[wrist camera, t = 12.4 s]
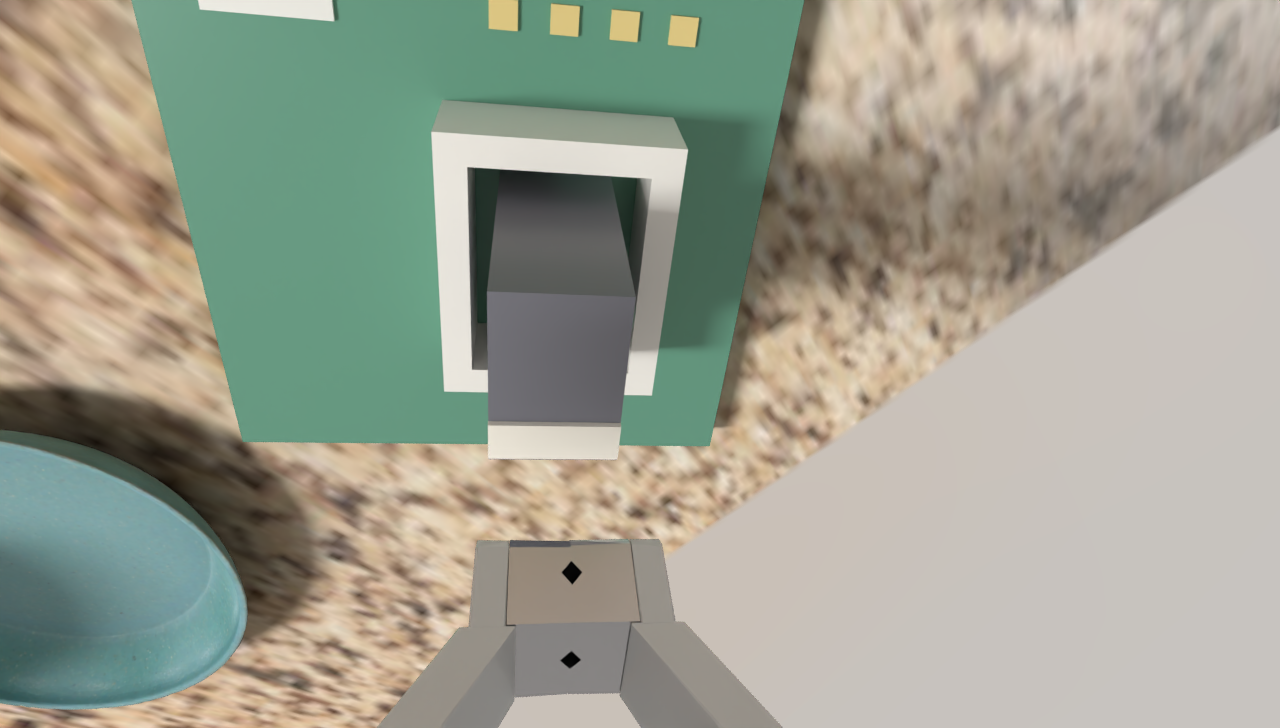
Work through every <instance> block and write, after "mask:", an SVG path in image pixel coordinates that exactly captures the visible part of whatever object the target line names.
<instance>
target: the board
mask: <svg viewBox="0 0 1280 728" xmlns="http://www.w3.org/2000/svg"><path fill="white" fill-rule="evenodd" d="M132 4H133V8H134V12H135V16H136V20H137V24H138V28H139V32H140V36H141V40H142V44H143V48H144V52H145V56H146V60H147V64H148V68H149V72H150V76H151V80H152V84H153V88H154V91H155V95H156V99H157V103H158V107H159V111H160V115H161V119H162V123H163V127H164V131H165V135H166V139H167V143H168V147H169V151H170V155H171V159H172V163H173V167H174V171H175V175H176V179H177V183H178V187H179V191H180V195H181V199H182V202H183V206H184V210H185V214H186V218H187V222H188V226H189V230H190V234H191V238H192V242H193V246H194V250H195V254H196V258H197V262H198V266H199V270H200V274H201V278H202V282H203V286H204V290H205V294H206V298H207V302H208V306H209V309H210V313H211V317H212V321H213V325H214V329H215V333H216V337H217V341H218V345H219V349H220V353H221V357H222V361H223V365H224V369H225V373H226V377H227V381H228V385H229V389H230V393H231V397H232V401H233V405H234V409H235V413H236V417H237V420H238V424H239V428H240V432H241V436H242V440H243V442H315V443H424V444H488V345H487V287H488V278H489V269H490V260H491V250H492V241H493V232H494V223H495V214H496V205H497V195H498V186H499V177H500V169H505V170H521V171H537V172H553V173H568V174H584V175H600V176H611V179H612V184H613V189H614V194H615V198H616V203H617V208H618V213H619V218H620V223H621V228H622V232H623V237H624V242H625V247H626V252H627V257H628V262H629V266H630V271H631V276H632V281H633V286H634V291H635V296H636V300H635V308H634V317H633V325H632V333H631V341H630V350H629V358H628V366H627V375H626V383H625V391H624V400H623V408H622V416H621V434H620V442H619V445H644V446H710V442H711V437H712V432H713V428H714V423H715V418H716V413H717V409H718V404H719V399H720V395H721V390H722V385H723V381H724V376H725V371H726V366H727V362H728V357H729V352H730V348H731V343H732V338H733V334H734V329H735V324H736V319H737V315H738V310H739V305H740V301H741V296H742V291H743V286H744V282H745V277H746V272H747V268H748V263H749V258H750V254H751V249H752V244H753V239H754V235H755V230H756V225H757V221H758V216H759V211H760V207H761V202H762V197H763V192H764V188H765V183H766V178H767V174H768V169H769V164H770V159H771V155H772V150H773V145H774V141H775V136H776V131H777V127H778V122H779V117H780V112H781V108H782V103H783V98H784V94H785V89H786V84H787V80H788V75H789V70H790V65H791V61H792V56H793V51H794V47H795V42H796V37H797V33H798V28H799V23H800V18H801V14H802V9H803V4H804V0H132Z"/></svg>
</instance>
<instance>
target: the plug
mask: <svg viewBox="0 0 1280 728" xmlns="http://www.w3.org/2000/svg"><path fill="white" fill-rule="evenodd" d="M635 300H636V296H635V291H634V286H633V281H632V276H631V271H630V266H629V262H628V257H627V252H626V247H625V242H624V237H623V232H622V228H621V223H620V218H619V213H618V208H617V203H616V198H615V194H614V189H613V184H612V179H611V176H600V175H584V174H568V173H553V172H537V171H521V170H505V169H500V177H499V186H498V195H497V205H496V214H495V223H494V232H493V241H492V250H491V260H490V269H489V278H488V287H487V345H488V459H533V460H617V458H618V450H619V442H620V434H621V416H622V408H623V400H624V391H625V383H626V375H627V366H628V358H629V350H630V341H631V333H632V325H633V317H634V308H635Z"/></svg>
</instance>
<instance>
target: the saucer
mask: <svg viewBox="0 0 1280 728" xmlns="http://www.w3.org/2000/svg"><path fill="white" fill-rule="evenodd" d="M247 617H248V611H247V599H246V595H245V591H244V587H243V585H242V582H241V579H240V577H239V574H238V572H237V569H236V567H235V565H234V563H233V560H232V558H231V557H230V555H229V553H228V551H227V550H226V548H225V546H224V545H223V543H222V542H221V540H220V539H219V538H218V536H217V535H216V534H215V532H214V531H213V530H212V528H211V527H210V526H209V525H208V524H207V522H206V521H205V520H204V519H203V518H202V517H201V516H200V515H199V514H198V513H197V512H196V511H195V510H194V509H193V508H192V507H191V506H190V505H189V504H188V503H187V502H186V501H185V500H183V499H182V498H181V497H180V496H179V495H177V494H176V493H175V492H174V491H172V490H171V489H170V488H168V487H167V486H166V485H164V484H163V483H161V482H160V481H158V480H157V479H156V478H154V477H152V476H151V475H149V474H147V473H146V472H144V471H142V470H140V469H139V468H137V467H135V466H133V465H131V464H129V463H127V462H125V461H123V460H121V459H118V458H116V457H114V456H112V455H109V454H107V453H104V452H102V451H99V450H96V449H93V448H90V447H87V446H84V445H80V444H77V443H74V442H70V441H66V440H62V439H59V438H54V437H48V436H43V435H38V434H33V433H25V432H17V431H9V430H0V703H2V704H8V705H15V706H20V705H22V706H26V707H35V708H45V709H98V708H109V707H118V706H126V705H133V704H139V703H142V702H145V701H151V700H155V699H157V698H162V697H165V696H168V695H170V694H173V693H176V692H179V691H182V690H185V689H187V688H188V687H191V686H193V685H195V684H197V683H199V682H201V681H203V680H204V679H205V678H207V677H208V676H210V675H212V674H213V673H214V672H216V671H217V670H218V669H219V668H221V667H222V666H223V665H224V664H225V663H226V662H227V660H228V659H229V658H230V657H231V656H232V654H233V653H234V652H235V651H236V649H237V648H238V646H239V644H240V642H241V640H242V638H243V635H244V632H245V629H246V625H247Z"/></svg>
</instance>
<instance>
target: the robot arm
mask: <svg viewBox="0 0 1280 728" xmlns="http://www.w3.org/2000/svg"><path fill="white" fill-rule="evenodd" d="M567 693H568V694H588V693H589V694H592V693H593V694H594V693H620V697H621V698H622V700H623V701H624V703H625V704H626V706H627V707H628V709H629V710H630V712H631V713H632V714H633V716H634V717H635V719H636V720H637V722H638V723H639V725H640V726H641V728H782V726H781V725H780V724H779V723H778V722H777V721H776V720H775V719H774V718H773V716H772V715H771V714H770V713H769V712H768V711H767V710H766V709H765V708H764V707H763V706H762V705H761V704H760V702H758V700H757V699H756V698H755V697H754V696H753V695H752V694H751V693H750V692H749V691H748V690H747V689H746V687H745V686H744V685H743V684H742V683H741V682H740V681H739V680H738V679H737V678H736V677H735V676H734V675H733V674H732V673H731V671H730V670H729V669H728V668H727V667H726V666H725V665H724V664H723V663H722V662H721V661H720V660H719V658H718V657H717V656H716V655H715V654H714V653H713V652H712V651H711V650H710V649H709V648H708V647H707V646H706V645H705V643H704V642H703V641H702V640H701V639H700V638H699V637H698V636H697V635H696V634H695V633H694V632H693V630H692V629H691V628H690V627H689V626H688V625H687V624H686V623H685V622H676V621H675V616H674V610H673V605H672V599H671V593H670V587H669V582H668V576H667V570H666V564H665V559H664V553H663V547H662V543H661V542H660V540H659V539H630V540H628V539H609V540H569V541H520V540H510V544H509V541H491V540H478V541H477V545H476V549H475V559H474V571H473V582H472V594H471V605H470V617H469V627H461V628H458V630H457V631H456V632H455V633H454V635H453V636H452V637H451V638H450V639H449V641H448V642H447V643H446V644H445V645H444V647H443V648H442V649H441V650H440V652H439V653H438V654H437V655H436V656H435V658H434V659H433V660H432V661H431V662H430V664H429V665H428V666H427V667H426V669H425V670H424V671H423V672H422V673H421V675H420V676H419V677H418V678H417V679H416V681H415V682H414V683H413V684H412V686H411V687H410V688H409V689H408V690H407V692H406V693H405V694H404V695H403V696H402V698H401V699H400V700H399V701H398V703H397V704H396V705H395V706H394V707H393V709H392V710H391V711H390V712H389V713H388V715H387V716H386V717H385V718H384V720H383V721H382V722H381V723H380V724H379V726H378V727H377V728H498V727H499V725H500V723H501V722H502V720H503V718H504V717H505V715H506V713H507V712H508V710H509V708H510V707H511V705H512V704H513V702H514V697H528V696H542V695H557V694H567Z"/></svg>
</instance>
